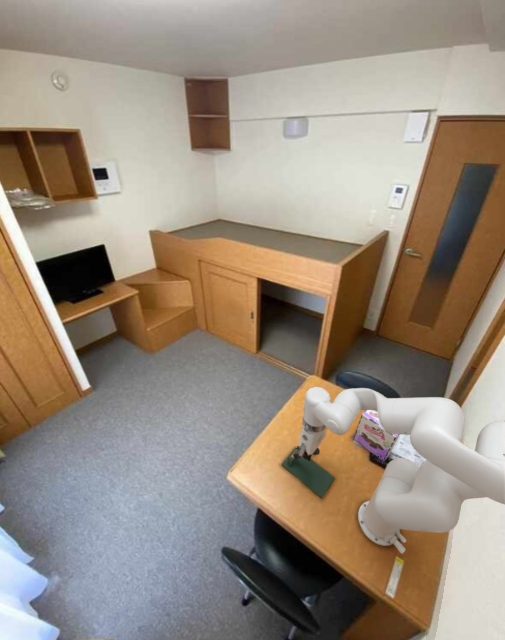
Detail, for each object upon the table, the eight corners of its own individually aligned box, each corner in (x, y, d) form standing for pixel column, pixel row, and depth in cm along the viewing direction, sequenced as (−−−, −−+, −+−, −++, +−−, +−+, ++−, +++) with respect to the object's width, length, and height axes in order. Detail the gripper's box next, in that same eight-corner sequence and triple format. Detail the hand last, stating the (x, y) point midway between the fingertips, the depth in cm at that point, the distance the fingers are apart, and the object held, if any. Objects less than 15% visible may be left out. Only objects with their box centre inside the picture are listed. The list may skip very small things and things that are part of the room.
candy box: (352, 438, 117) (361, 413, 108) (359, 430, 121) (369, 405, 111) (383, 462, 109) (396, 437, 100) (390, 453, 112) (403, 428, 103)
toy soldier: (322, 450, 97) (317, 443, 97) (316, 459, 94) (310, 451, 95) (299, 454, 108) (294, 447, 109) (293, 462, 106) (288, 454, 106)
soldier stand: (334, 479, 103) (336, 471, 100) (321, 498, 98) (323, 490, 95) (295, 448, 113) (296, 440, 110) (281, 465, 108) (282, 456, 105)
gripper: (310, 445, 83) (305, 478, 93) (337, 411, 93) (330, 444, 103) (289, 430, 87) (287, 464, 97) (317, 399, 97) (312, 432, 107)
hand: (309, 453), depth 100 cm, fingers closed on toy soldier, 3 cm apart
